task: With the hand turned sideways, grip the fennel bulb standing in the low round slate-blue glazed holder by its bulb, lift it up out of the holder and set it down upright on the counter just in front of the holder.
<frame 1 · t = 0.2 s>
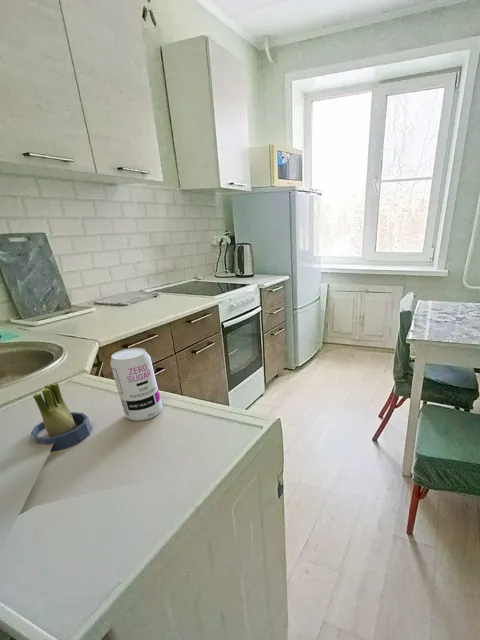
supplement can: (144, 413, 83), on the countertop
holder: (64, 436, 75), on the countertop
fennel bulb: (65, 437, 75), resting in holder
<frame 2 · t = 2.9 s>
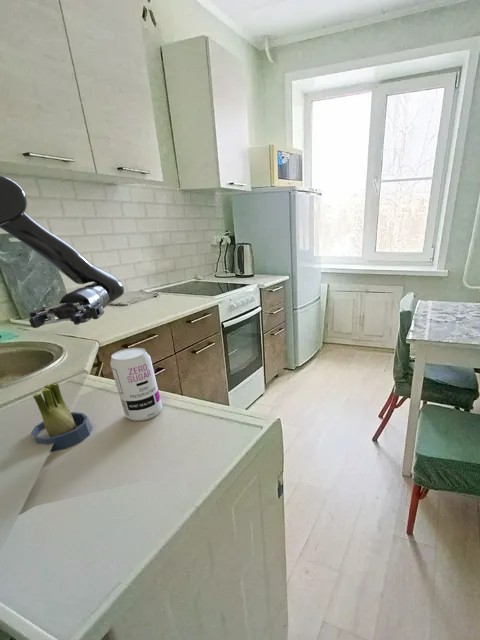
hand: (54, 321, 76), 22 cm above the countertop, tool horizontal, fingers open, 8 cm apart
nothing on the countertop moved.
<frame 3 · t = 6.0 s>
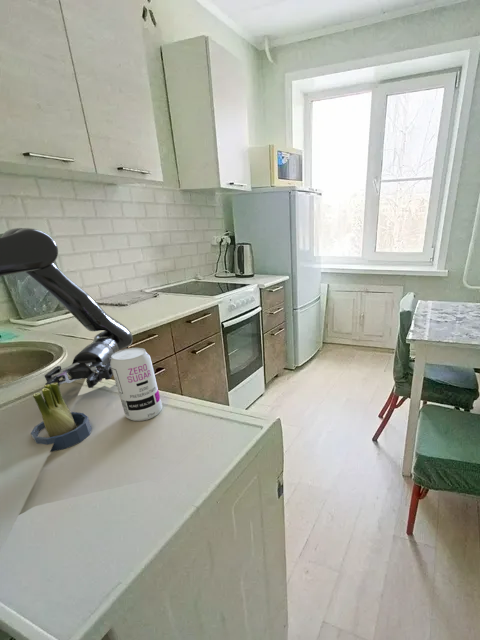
hand: (69, 386, 79), 8 cm above the countertop, tool horizontal, fingers open, 8 cm apart
nothing on the countertop moved.
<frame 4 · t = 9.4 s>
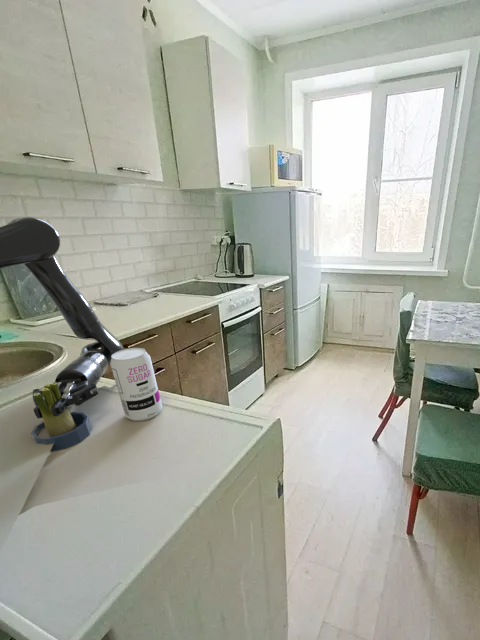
hand: (46, 413, 69), 8 cm above the countertop, tool horizontal, fingers closed on fennel bulb, 2 cm apart
fennel bulb: (64, 437, 75), resting in holder, touching gripper
everything else where it was.
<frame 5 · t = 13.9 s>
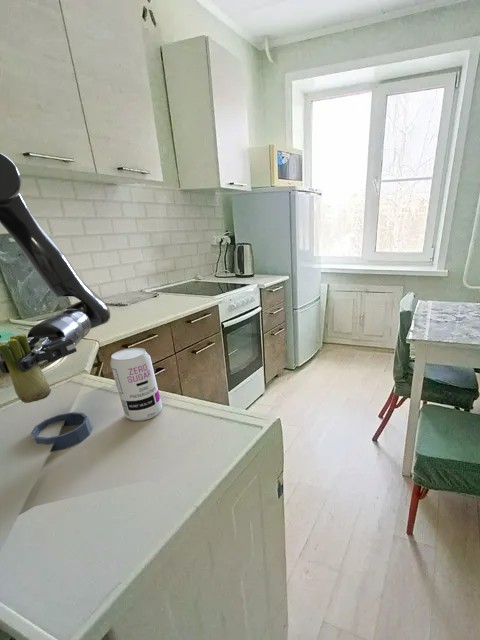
hand: (12, 367, 59), 20 cm above the countertop, tool horizontal, fingers closed on fennel bulb, 2 cm apart
fennel bulb: (36, 399, 65), point 12 cm above the countertop, touching gripper
everything else where it was.
when the fingers open (8 cm above the countertop, at t = 18.6 s): fennel bulb stays where it is, on the countertop.
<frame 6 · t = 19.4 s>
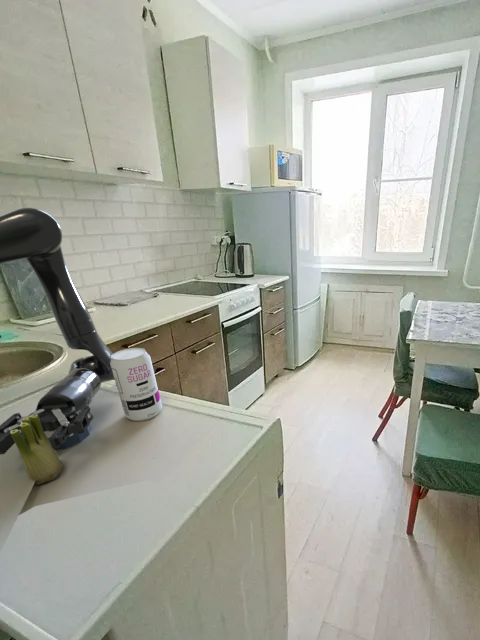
hand: (25, 447, 58), 8 cm above the countertop, tool horizontal, fingers open, 8 cm apart
fennel bulb: (48, 478, 64), on the countertop
everything else where it was.
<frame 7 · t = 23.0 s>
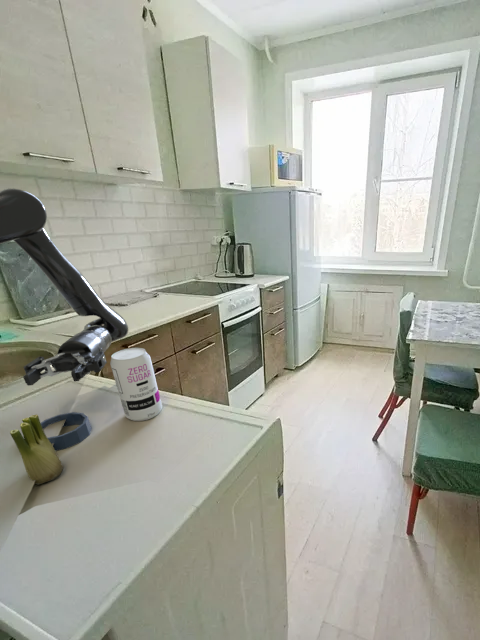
hand: (51, 379, 68), 14 cm above the countertop, tool horizontal, fingers open, 8 cm apart
nothing on the countertop moved.
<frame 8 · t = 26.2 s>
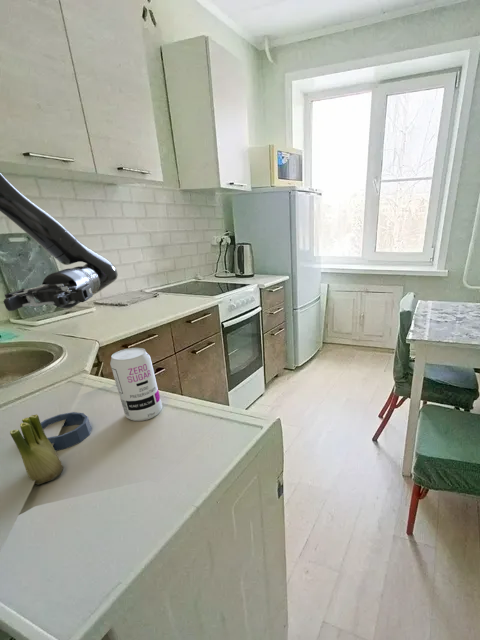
hand: (32, 303, 65), 28 cm above the countertop, tool horizontal, fingers open, 8 cm apart
nothing on the countertop moved.
at the end: fennel bulb inside the target area (0.2 cm from its centre), on the countertop; fennel bulb tilted 0°; the gripper is holding nothing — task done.
